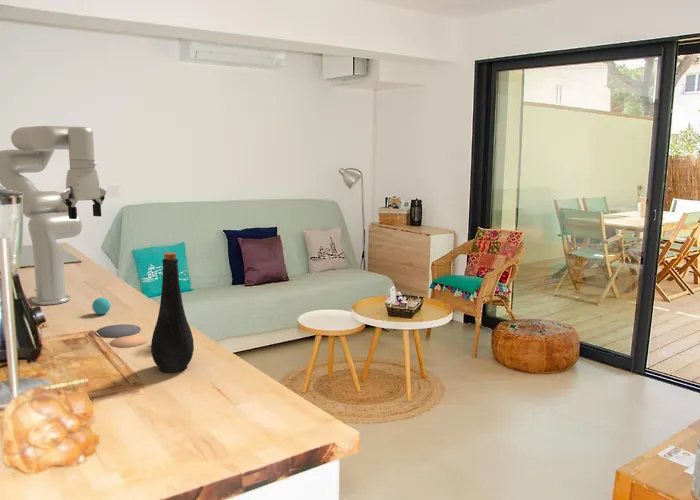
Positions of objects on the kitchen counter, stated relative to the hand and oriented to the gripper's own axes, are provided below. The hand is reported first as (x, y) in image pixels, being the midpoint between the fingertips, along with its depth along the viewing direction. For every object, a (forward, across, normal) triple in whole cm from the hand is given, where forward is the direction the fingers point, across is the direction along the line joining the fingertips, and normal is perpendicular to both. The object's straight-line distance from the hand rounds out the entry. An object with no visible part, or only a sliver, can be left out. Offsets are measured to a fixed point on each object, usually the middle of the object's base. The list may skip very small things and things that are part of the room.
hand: (85, 217), depth 202 cm
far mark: (+33, +17, +35) cm, 50 cm away
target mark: (+32, +11, +24) cm, 42 cm away
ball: (+29, 0, +5) cm, 30 cm away
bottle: (+33, +26, +60) cm, 74 cm away
